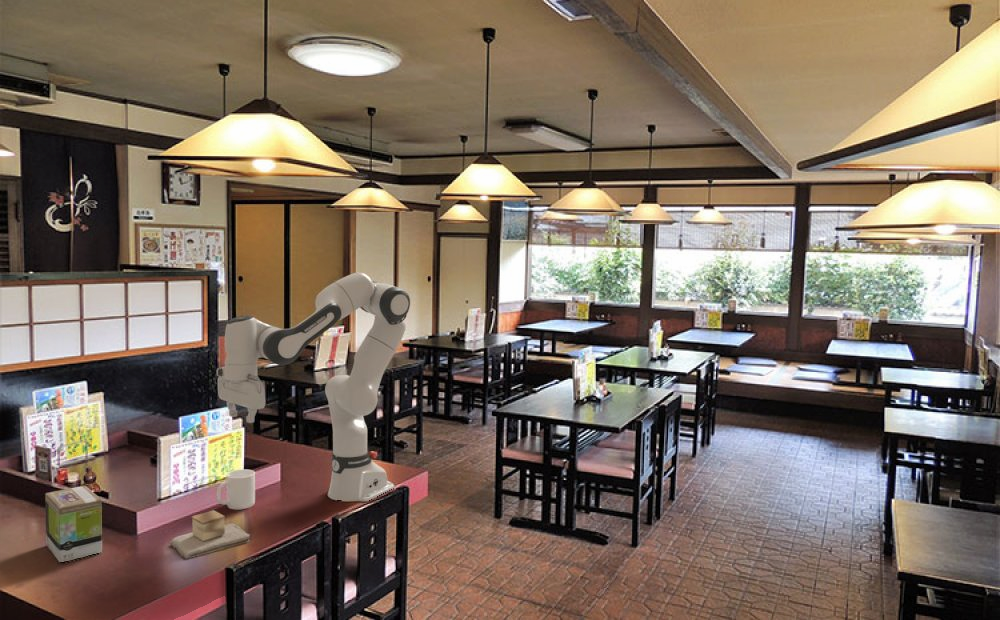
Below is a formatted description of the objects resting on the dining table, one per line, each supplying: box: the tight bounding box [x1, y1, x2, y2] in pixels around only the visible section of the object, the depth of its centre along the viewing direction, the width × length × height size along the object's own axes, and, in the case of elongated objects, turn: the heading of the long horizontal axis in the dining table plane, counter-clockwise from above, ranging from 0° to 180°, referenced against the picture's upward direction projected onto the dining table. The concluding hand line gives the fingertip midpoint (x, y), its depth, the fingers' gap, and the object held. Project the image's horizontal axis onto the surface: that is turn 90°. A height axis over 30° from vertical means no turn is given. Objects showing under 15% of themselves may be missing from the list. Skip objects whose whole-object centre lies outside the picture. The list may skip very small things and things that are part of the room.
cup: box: [216, 468, 256, 511], centre depth 212 cm, size 8×12×10 cm
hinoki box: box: [191, 509, 226, 541], centre depth 186 cm, size 6×6×5 cm
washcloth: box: [170, 523, 251, 560], centre depth 186 cm, size 12×18×3 cm, turn 134°
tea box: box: [44, 485, 103, 563], centre depth 180 cm, size 15×10×15 cm
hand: (241, 419), depth 197 cm, fingers open, 8 cm apart
